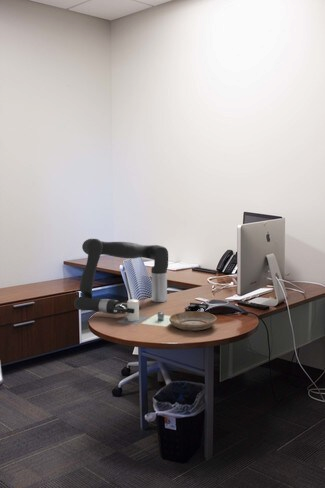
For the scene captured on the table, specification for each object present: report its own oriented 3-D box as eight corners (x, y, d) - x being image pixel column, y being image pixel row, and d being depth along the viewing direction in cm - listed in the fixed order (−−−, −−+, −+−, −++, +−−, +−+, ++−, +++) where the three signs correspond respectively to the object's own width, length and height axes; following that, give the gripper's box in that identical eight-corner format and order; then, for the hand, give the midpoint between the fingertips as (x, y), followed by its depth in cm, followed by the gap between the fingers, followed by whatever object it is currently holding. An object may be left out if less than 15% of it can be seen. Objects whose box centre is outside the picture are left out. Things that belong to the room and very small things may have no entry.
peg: (159, 319, 269) (159, 311, 269) (164, 319, 268) (164, 312, 267) (156, 320, 266) (156, 313, 266) (162, 321, 265) (162, 313, 264)
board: (155, 315, 278) (155, 314, 278) (179, 317, 272) (179, 317, 272) (141, 324, 262) (141, 323, 262) (166, 327, 256) (166, 326, 256)
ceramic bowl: (187, 317, 273) (187, 308, 272) (225, 325, 258) (225, 316, 257) (160, 328, 255) (159, 318, 255) (198, 337, 240) (198, 327, 240)
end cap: (209, 315, 277) (209, 302, 276) (205, 318, 270) (205, 306, 269) (191, 313, 281) (191, 301, 280) (187, 316, 274) (187, 304, 273)
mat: (130, 314, 279) (130, 314, 279) (150, 317, 274) (150, 316, 274) (115, 323, 264) (115, 322, 264) (136, 325, 260) (136, 324, 259)
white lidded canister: (130, 317, 273) (130, 298, 272) (141, 318, 271) (140, 300, 269) (125, 320, 268) (125, 301, 266) (135, 321, 265) (135, 302, 264)
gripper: (102, 302, 267) (130, 305, 260) (115, 296, 280) (143, 299, 273) (102, 316, 268) (130, 320, 261) (116, 309, 281) (143, 312, 274)
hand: (137, 309), depth 267 cm, fingers open, 6 cm apart
